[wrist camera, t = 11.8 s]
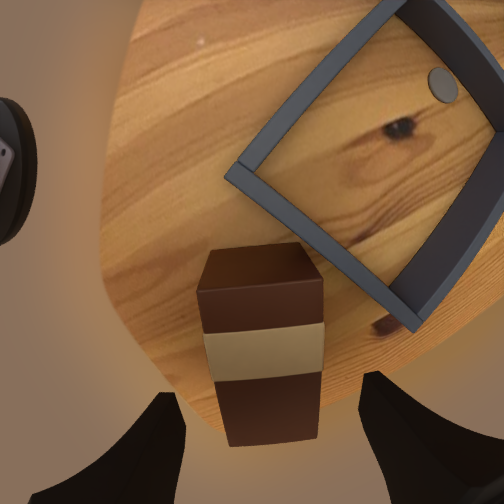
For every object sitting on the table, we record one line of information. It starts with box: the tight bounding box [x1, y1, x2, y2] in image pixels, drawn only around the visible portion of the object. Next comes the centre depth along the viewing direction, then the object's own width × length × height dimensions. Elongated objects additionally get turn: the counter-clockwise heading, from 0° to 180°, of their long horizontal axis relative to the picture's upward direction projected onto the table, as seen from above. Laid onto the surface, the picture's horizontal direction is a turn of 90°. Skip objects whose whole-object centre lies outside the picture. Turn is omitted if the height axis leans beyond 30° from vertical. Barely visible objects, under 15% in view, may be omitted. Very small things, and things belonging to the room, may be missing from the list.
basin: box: [224, 0, 504, 333], centre depth 12 cm, size 12×15×4 cm
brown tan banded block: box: [196, 242, 325, 447], centre depth 14 cm, size 5×9×5 cm, turn 5°
